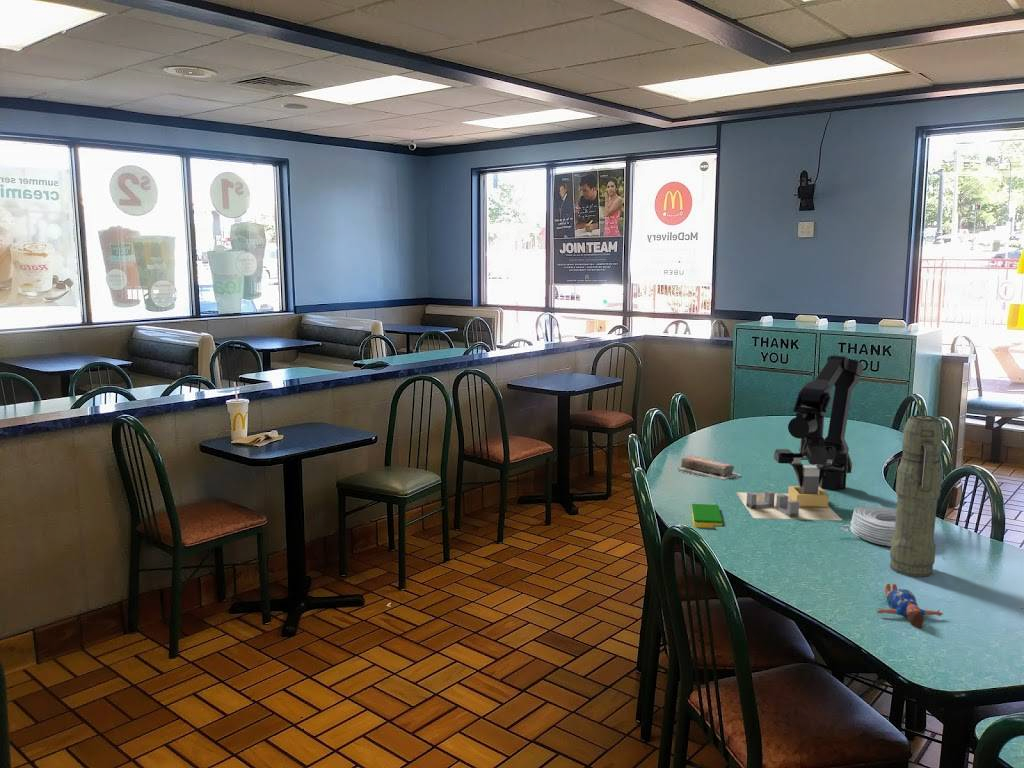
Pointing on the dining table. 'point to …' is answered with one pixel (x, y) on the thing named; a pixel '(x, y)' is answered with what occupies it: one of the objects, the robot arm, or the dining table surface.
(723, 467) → the packaged product
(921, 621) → the toy character
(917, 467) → the thermos
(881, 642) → the dining table surface
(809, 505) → the end holder
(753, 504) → the clip
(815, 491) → the connector plug
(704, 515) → the dish sponge
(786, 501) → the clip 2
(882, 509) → the cable
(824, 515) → the board
